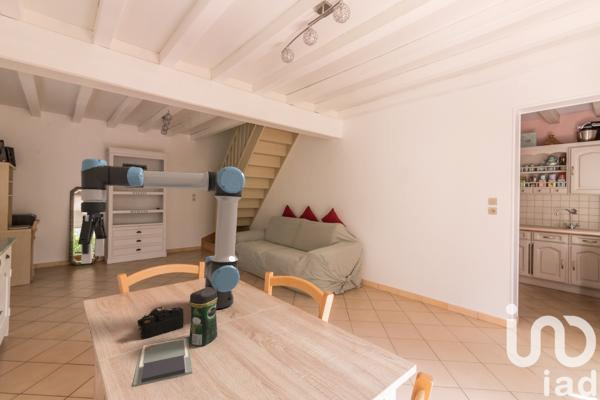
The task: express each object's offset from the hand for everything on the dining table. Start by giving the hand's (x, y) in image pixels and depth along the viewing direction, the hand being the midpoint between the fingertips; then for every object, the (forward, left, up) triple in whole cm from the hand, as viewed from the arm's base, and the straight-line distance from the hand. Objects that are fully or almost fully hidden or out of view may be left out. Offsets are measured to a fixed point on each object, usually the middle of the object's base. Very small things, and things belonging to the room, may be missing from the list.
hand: (93, 259), depth 102 cm
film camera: (-22, +5, -29) cm, 37 cm away
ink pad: (-24, +34, -29) cm, 50 cm away
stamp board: (-24, +27, -29) cm, 46 cm away
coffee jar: (-37, +19, -29) cm, 50 cm away
